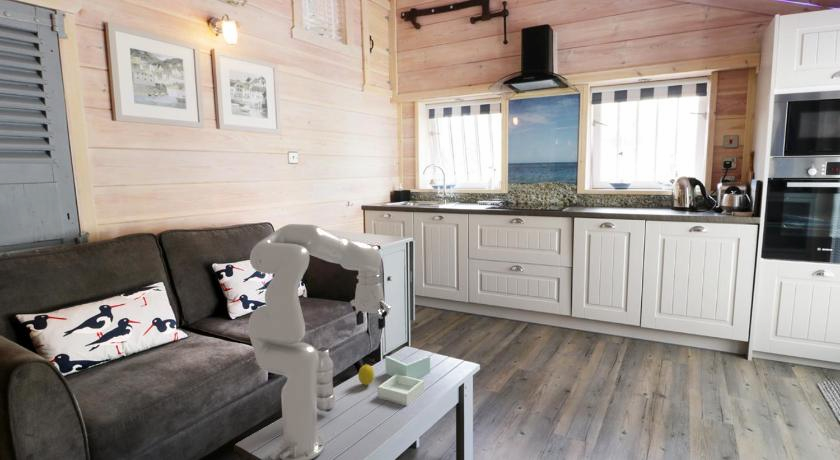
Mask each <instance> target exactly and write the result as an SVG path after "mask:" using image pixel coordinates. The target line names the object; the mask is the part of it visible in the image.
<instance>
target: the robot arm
mask: <svg viewBox="0 0 840 460" xmlns="http://www.w3.org/2000/svg"><path fill="white" fill-rule="evenodd" d="M249 254H250V255H249V262H250V263H249V264H250V265H251V267H252V268H253V270H255V271H257V272H258V273H263V274H270V275H273V277H272V279H271V280H270V282H269V284H268V285H267V286H266V287H267V288H266V289H265V293H264V302H265V305H262V306H261V305H260V306H259V307H257V308H256V309H254V310H253V311H252V313H251V314H250V317H249V319H248V327H247V328H248V335H249V339H250V343H251V346H252V349H253V352H254V355H255V358H256V361H257V364H258V366H259V368H260V369H261V370H263V371H265V372H268V373H272V374H276V375H280V376H284V377H286V378H287V379H286V382H285V383H284V385H283V387H282V388H281V392H280V393H281V394H280V395H281V396H280V398H281V399H280V400H281V401H280V402H281V412H282V413H281V414H282V416H281V417H282V433H283V437H282V438H283V439H281V440H280V445H279V446H278V448H277V449H275V450H273V451H272V452H270V454H269V455H270V458H271V459H272V460H277V459H278V457H279V458H280V459H281V460H312V459H314V458H316V457H318V456H319V455H320V454H321V453H322V452H323V451H324V447H325V446H324V445H325V442H324V440H323V438H322V437H321V436H319V432H318V431H319V430H318V427H319V426H318V409H317V402H316V373H317V366H318V352H317V350H318V349H316V348H315V347H314V346H313V345H312V344H309V343H307V342H303V341H302V340H303V338H304V337H305V333H306V325H305V324H306V323H305V319H304V316H303V311H302V306H301V303H300V297H299V287H300V283H301V281H302V279H303V277H304V275H305V273H306V271H307V270H308V267H309V263H310V256H313V257H315V258H317V259H320V260H323V261H326V262H328V263H333V264H338V265H340V266H341V267H342V268H343V269H345V270H349V271H358V274H357V275H356V279H357V280H358V283H356V287H355V294H354V295H355V296H354V299H352V300H350V306H351V307H352V310H353V311H354V314H355V315H356V316H355V317H356V326H360V325H362V324H364V313H370V314H377V316H378V319H377V325H378V326H377V329H378V330H382V329H384V328H386V317H387V316H388V315H389V314H390V311H391V309H392V308H391V305H389V304H388V303H387V302H385V299H384V297H385V296H384V291H383V286H382V285H383V284H382V283H381V277H380V276H381V274H380V273H381V270H380V266H381V264H382V255H381V253H380V248H379V247H378V246H377V245H375V244H366V243H363V242H361V241H360V242H359V241H356V240H352V239H350V238H346V237H341V236H339V235H336V234H335V233H333V232H331V231H328V230H327V229H324V228H322V227H320V226H318V225H314V224H303V223H302V224H301V223H299V224H298V223H297V224H296V223H289V224H286V225H283V226H282V227H280V228H278V229H277V230H275V231H274V232H272V233H270V234H269V235H267V236H266V237H264V238H263V239H262V240H259V242H257V243H256V244H255V245H254V246H253V248H252V249H251V252H250V253H249ZM301 341H302V342H301Z"/></svg>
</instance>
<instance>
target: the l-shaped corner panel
mask: <svg viewBox="0 0 840 460" xmlns="http://www.w3.org/2000/svg"><path fill="white" fill-rule="evenodd" d="M430 373H431V357H430V356H429V355H428V356H424V357H422V358H420V359H417V360H414V361H412V362H409V363H405V362H403V361H400V360H399V359H396V358H393V357H390V356H388V355H386V356H385V374H386V375H388V376H390V377H393V376H394V375H395V374H398V375H403V376H407V377H411V378H415V379H420V378H422V377H424V376H427V375H429V374H430Z"/></svg>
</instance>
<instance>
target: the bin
mask: <svg viewBox="0 0 840 460" xmlns="http://www.w3.org/2000/svg"><path fill="white" fill-rule="evenodd" d="M424 392H425V381H424V380H423V379H420V378H418V379H415V378H411V377H407V376H403V375H398V374H395V375H394V376H393V377H392V376H390V378H388V379H387V380H385V381H384V382H383V383H381V384H380V385H378V386H377V398H378V399H381V400H385V401H387V402H392V403H396V404H399V405H402V406H406V407H407V406H408V405H409V406H410V404H412V402H413V401H415V400H416V399H417V398H418V397H419V396H420V395H422V394H423V393H424Z"/></svg>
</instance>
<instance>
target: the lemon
mask: <svg viewBox="0 0 840 460" xmlns="http://www.w3.org/2000/svg"><path fill="white" fill-rule="evenodd" d="M374 378H375V373H374V369H373V367H372V366H371V365H370V364H367V363H366V364H364V365H362V366H361V367H360V368H359V371H358V379H359V382H360V383H361V384H362V385H365V386H369V385H371V383H373V381H374Z"/></svg>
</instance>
